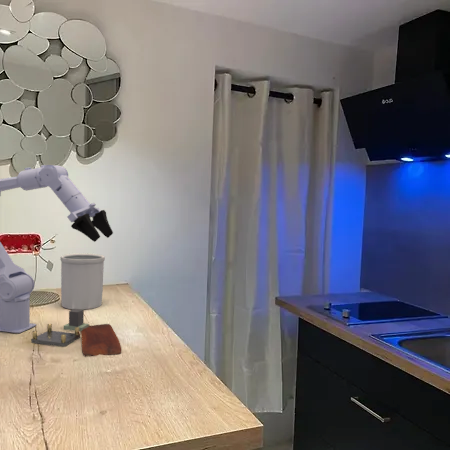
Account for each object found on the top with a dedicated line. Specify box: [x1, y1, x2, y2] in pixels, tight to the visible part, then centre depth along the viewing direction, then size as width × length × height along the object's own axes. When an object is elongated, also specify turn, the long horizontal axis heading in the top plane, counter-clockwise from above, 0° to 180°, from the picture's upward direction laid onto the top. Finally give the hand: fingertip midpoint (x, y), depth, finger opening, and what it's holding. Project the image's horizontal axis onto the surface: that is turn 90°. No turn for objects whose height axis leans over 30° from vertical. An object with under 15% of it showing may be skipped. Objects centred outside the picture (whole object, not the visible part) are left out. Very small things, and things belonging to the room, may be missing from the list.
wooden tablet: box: [80, 323, 122, 358], centre depth 133 cm, size 27×10×2 cm, turn 19°
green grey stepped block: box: [63, 309, 90, 332], centre depth 141 cm, size 6×4×6 cm, turn 76°
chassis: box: [30, 323, 81, 348], centre depth 130 cm, size 10×8×3 cm
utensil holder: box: [59, 252, 106, 310], centre depth 166 cm, size 15×15×18 cm
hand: (104, 237), depth 131 cm, fingers open, 7 cm apart
